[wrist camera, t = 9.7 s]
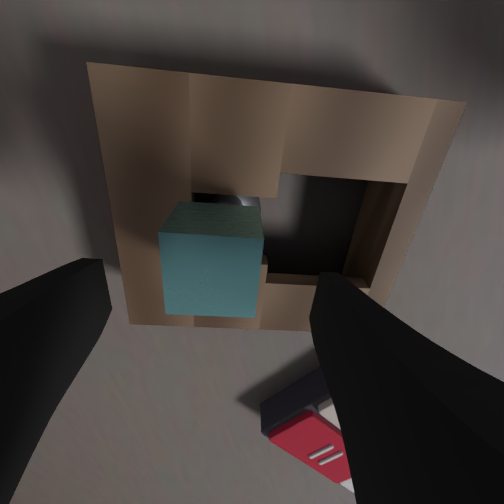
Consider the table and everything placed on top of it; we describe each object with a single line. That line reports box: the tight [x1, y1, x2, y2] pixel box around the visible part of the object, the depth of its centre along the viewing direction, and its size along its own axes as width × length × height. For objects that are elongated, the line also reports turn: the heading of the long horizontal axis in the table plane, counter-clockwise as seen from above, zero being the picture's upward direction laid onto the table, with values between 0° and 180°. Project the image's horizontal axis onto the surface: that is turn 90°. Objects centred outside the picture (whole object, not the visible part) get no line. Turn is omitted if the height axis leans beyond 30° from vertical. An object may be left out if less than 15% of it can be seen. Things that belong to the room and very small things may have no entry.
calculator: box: [261, 367, 354, 493], centre depth 25 cm, size 11×4×15 cm
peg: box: [158, 192, 264, 318], centre depth 12 cm, size 4×4×8 cm
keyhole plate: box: [86, 62, 467, 331], centre depth 14 cm, size 14×12×4 cm
